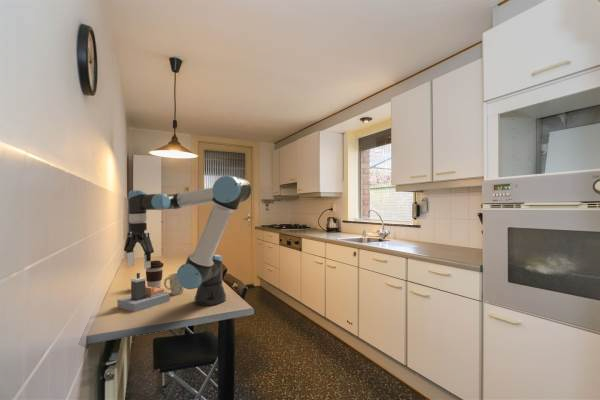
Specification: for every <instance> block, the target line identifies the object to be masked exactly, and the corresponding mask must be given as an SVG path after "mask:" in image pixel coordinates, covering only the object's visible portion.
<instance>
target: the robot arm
mask: <svg viewBox="0 0 600 400" xmlns="http://www.w3.org/2000/svg"><path fill="white" fill-rule="evenodd" d="M251 195H252V185H251V184H250V182H249V181H248V180H247V179H245V178H244V177H239V176H234V175H223V176H220V177H218V178H217V179H216V180H215V182H214V183H213V185H212V187H207V188H202V189H197V190H191V191H184V192H180V193H179V192H178V193H173V194H170V193H168V194H166V193H151V194H150V193H149V194H148V193H147V191H146V190H143V189H141V190H138V189H137V190H130V191H129V192H128V199H127V201H128V203H127V204H128V222H129V224H128V230H129V232H127V234H126V235H127V236H126V241H125V244H124V248H123V251H124V252H126V257H127V258H126V259H127V260H126V262H127V267H132V266H134V265H135V263H134V262H135V261H134V255H135V254H134V249H135V246H137V245H136V244H137V243H138V244H139V245H140V246H141V248H142V250H143V251H144V254H143V262H144V263H143V267H144V269H145V270H146V268H151V261H152V259H151V257H152V253H153V254H154V252H155V251H154V247H153V244H152V241H151V238H150V233H149V232H145V231H147V228H148V227H147V226H148V225H147V211H149V210H150V211H162V210H163V211H164V210H179V209H183V208H186V207H196V206H202V205H207V204H213V206H212V208H211V211H210V213H209V216H208V218H207V220H206V222H205V225H204V227H203V230H202V232H201V234H200V237H199V239H198V241H197V244H196V246H195V249H194V251H193V252H191V253H189V254H188V256H187V258H186V261H185V262H184V263H183V264H181V266H179V268H178V269H177V272H176V273H177V279H178V281H179V283H180V285H181V286H182V287H184V289H185V290H194V289H197V290H196V293H195V296H194V304H195V305H197V306H213V305H219V304H221V303H224V302H225V301H227V293H226V291H225V289H224V286H223V257H222V255H221V254H215V253H216V250H217V248H218V245H219V243H220V241H221V239H222V236H223V233H224V232H225V229H226V227H227V225H228V222H229V220H230V217H231V216H232V213H233V212H236V211H237V210H238V208H239V205H240V204H241V203H243V202H245V201H247V200H248V199H249V198H250V197H251Z"/></svg>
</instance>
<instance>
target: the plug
mask: <svg viewBox="0 0 600 400" xmlns="http://www.w3.org/2000/svg"><path fill="white" fill-rule="evenodd" d="M145 286H146V276H145V277H144V276H141V273H140V272H137V273H136V277H133V278H130V290H131V291H130V292H131V293H130V296H131V300H134V301H138V300H142V299H145V298H146V292H145Z"/></svg>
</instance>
